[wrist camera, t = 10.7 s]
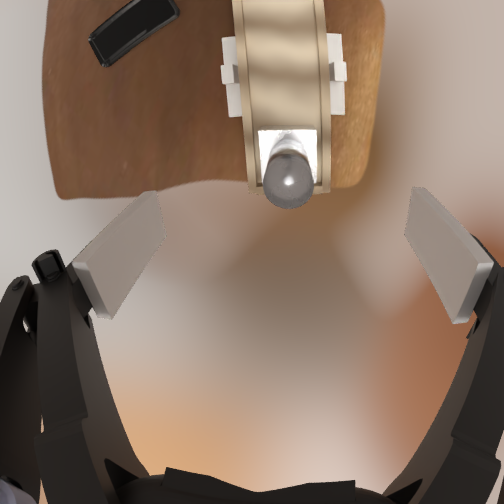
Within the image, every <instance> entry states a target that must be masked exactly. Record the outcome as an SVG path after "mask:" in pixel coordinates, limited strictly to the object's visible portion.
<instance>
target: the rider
mask: <svg viewBox="0 0 504 504" xmlns="http://www.w3.org/2000/svg"><path fill="white" fill-rule="evenodd" d="M258 132H259V146H260V160H261V175H262V184H263V190H264V193H265V195H266V197H267V198H268V200H269V201H271V203H273V204H274V205H276V206H278V207H281V208H285V209H292V208H297V207H299V206H302V205H303V204H305V203H306V202H307V201H308V200H309V199H310V197H311V196H312V193H313V190H314V183H316V180H317V150H316V129H315V127H314V126H313V125H270V126H261V128H260V129H259V131H258Z"/></svg>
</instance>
